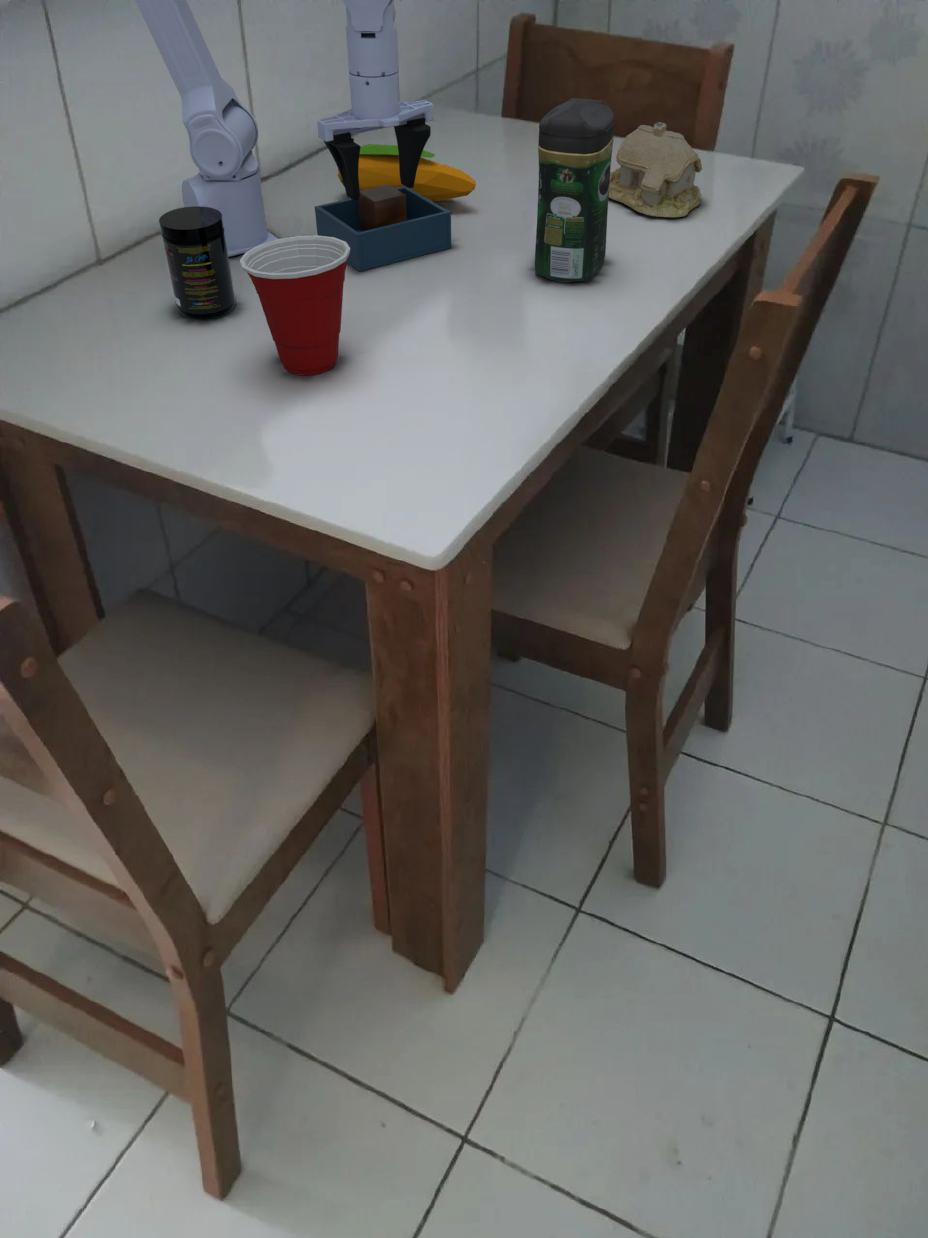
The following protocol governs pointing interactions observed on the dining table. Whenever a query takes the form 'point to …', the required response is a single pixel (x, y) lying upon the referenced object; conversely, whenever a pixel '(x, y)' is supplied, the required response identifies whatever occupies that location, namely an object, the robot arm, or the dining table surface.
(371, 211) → the block
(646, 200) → the ceramic model
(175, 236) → the supplement container
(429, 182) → the corn
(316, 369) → the plastic cup
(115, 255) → the dining table surface
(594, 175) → the coffee jar
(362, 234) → the bin
